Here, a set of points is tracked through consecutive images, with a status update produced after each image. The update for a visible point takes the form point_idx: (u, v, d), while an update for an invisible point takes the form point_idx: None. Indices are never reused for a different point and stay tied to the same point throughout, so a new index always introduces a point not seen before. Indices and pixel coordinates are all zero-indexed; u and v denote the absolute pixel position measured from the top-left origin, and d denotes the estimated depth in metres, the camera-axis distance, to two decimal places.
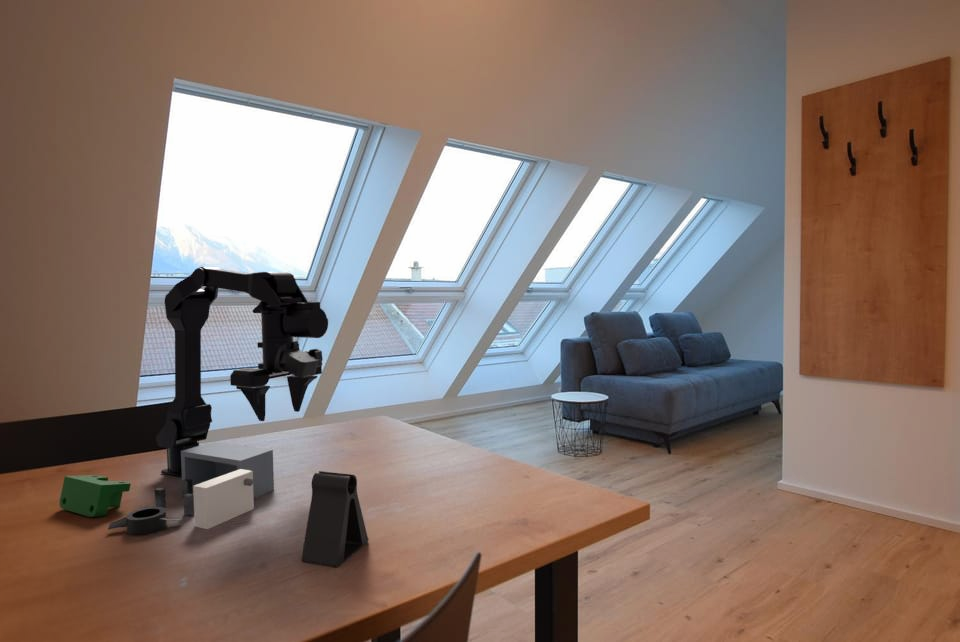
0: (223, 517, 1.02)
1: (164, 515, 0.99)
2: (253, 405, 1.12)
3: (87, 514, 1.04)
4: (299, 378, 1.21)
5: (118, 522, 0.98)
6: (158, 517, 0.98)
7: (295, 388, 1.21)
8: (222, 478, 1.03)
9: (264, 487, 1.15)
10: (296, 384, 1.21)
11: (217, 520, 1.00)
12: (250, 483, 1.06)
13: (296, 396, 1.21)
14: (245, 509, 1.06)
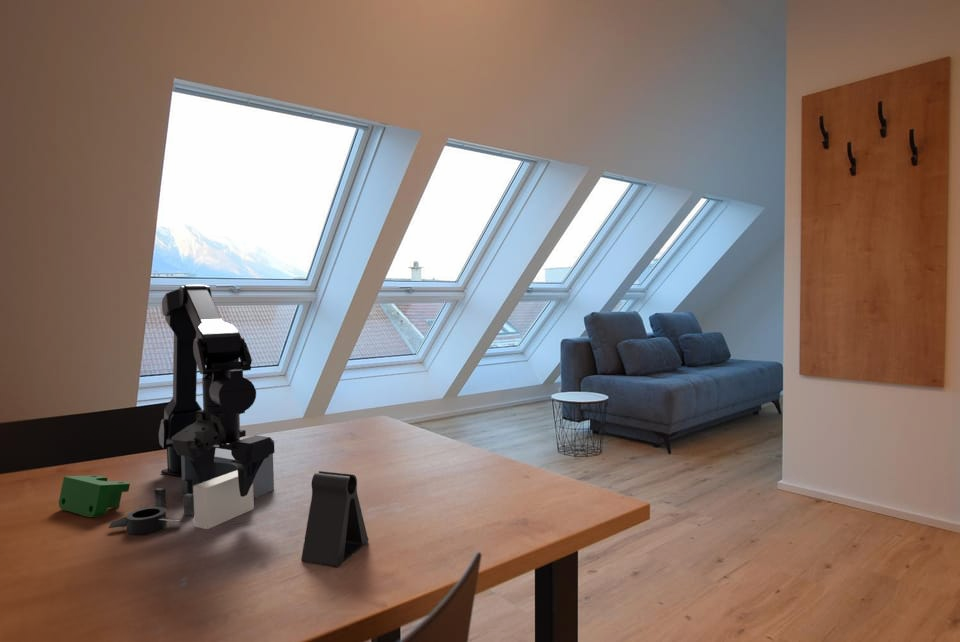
0: (223, 517, 1.02)
1: (163, 516, 0.99)
2: None
3: (86, 514, 1.04)
4: None
5: (119, 521, 0.98)
6: (157, 518, 0.97)
7: None
8: (222, 478, 1.03)
9: (264, 487, 1.15)
10: None
11: (217, 520, 1.00)
12: None
13: None
14: (245, 509, 1.06)
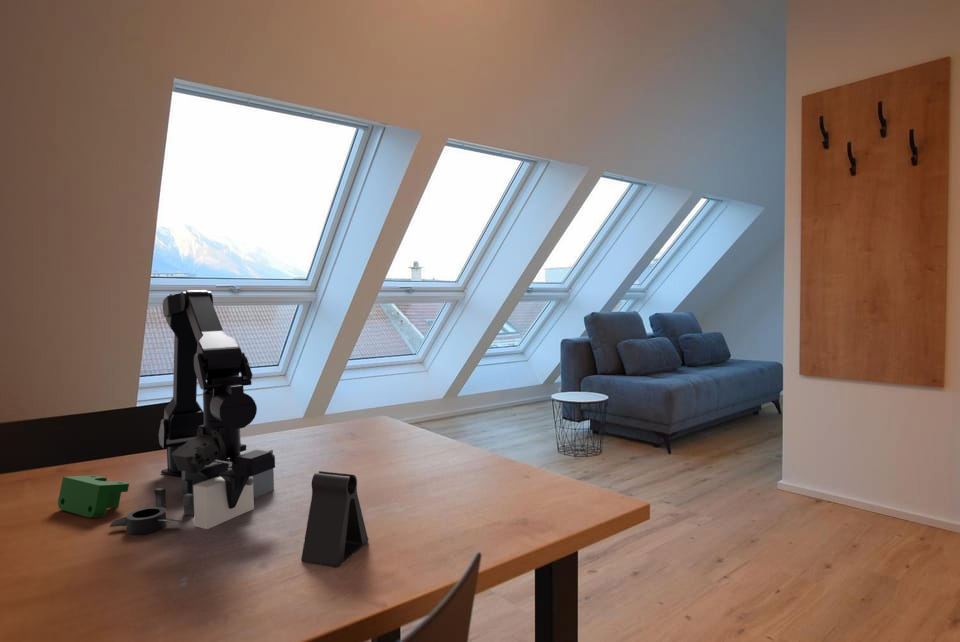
0: (223, 517, 1.02)
1: (162, 516, 0.99)
2: None
3: (85, 515, 1.04)
4: None
5: (120, 521, 0.99)
6: (155, 518, 0.97)
7: None
8: (222, 478, 1.03)
9: (264, 487, 1.15)
10: None
11: (217, 519, 1.00)
12: (250, 483, 1.06)
13: None
14: (245, 509, 1.06)
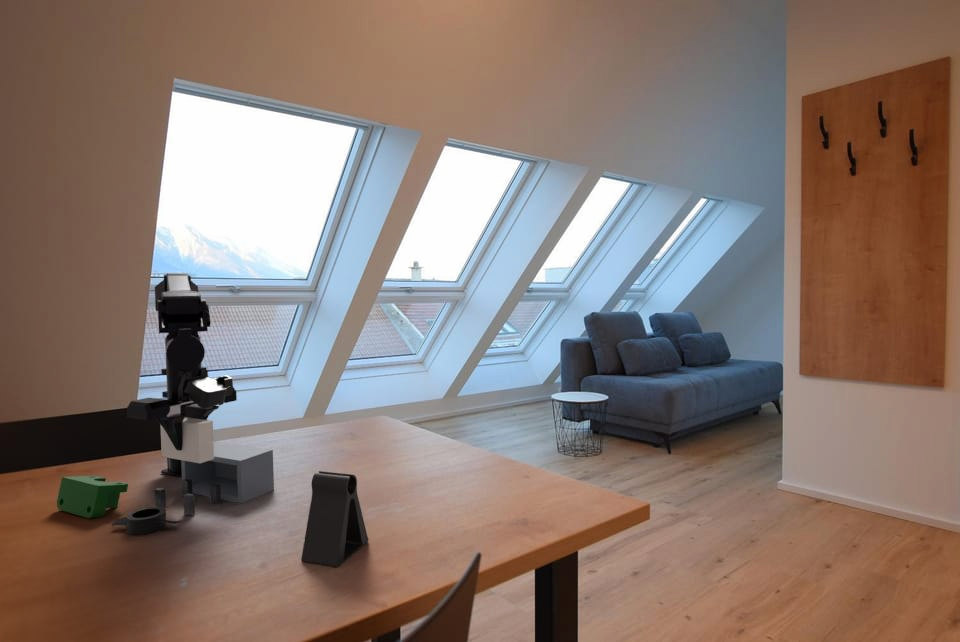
0: None
1: (161, 517, 0.98)
2: (169, 434, 1.06)
3: (84, 515, 1.03)
4: (197, 409, 1.10)
5: (122, 519, 0.99)
6: (152, 519, 0.97)
7: None
8: (187, 420, 1.08)
9: (264, 487, 1.15)
10: (194, 415, 1.10)
11: None
12: None
13: None
14: None
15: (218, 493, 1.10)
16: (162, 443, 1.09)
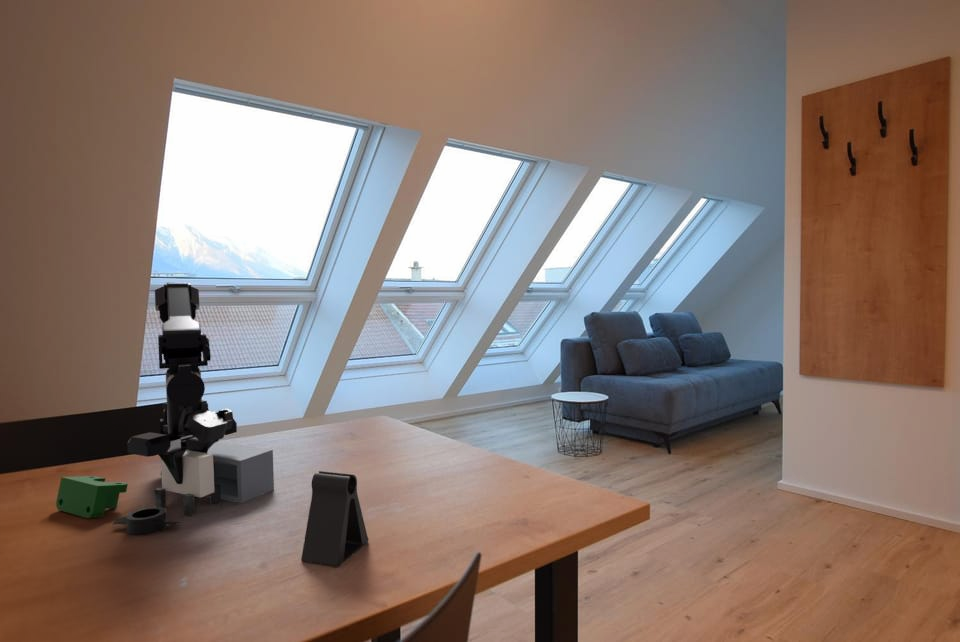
0: None
1: (160, 518, 0.98)
2: (169, 468, 1.07)
3: (84, 515, 1.03)
4: (198, 442, 1.10)
5: (123, 519, 1.00)
6: (151, 519, 0.97)
7: None
8: (187, 453, 1.08)
9: (264, 487, 1.15)
10: (195, 448, 1.11)
11: None
12: None
13: None
14: None
15: (218, 493, 1.10)
16: (163, 476, 1.10)
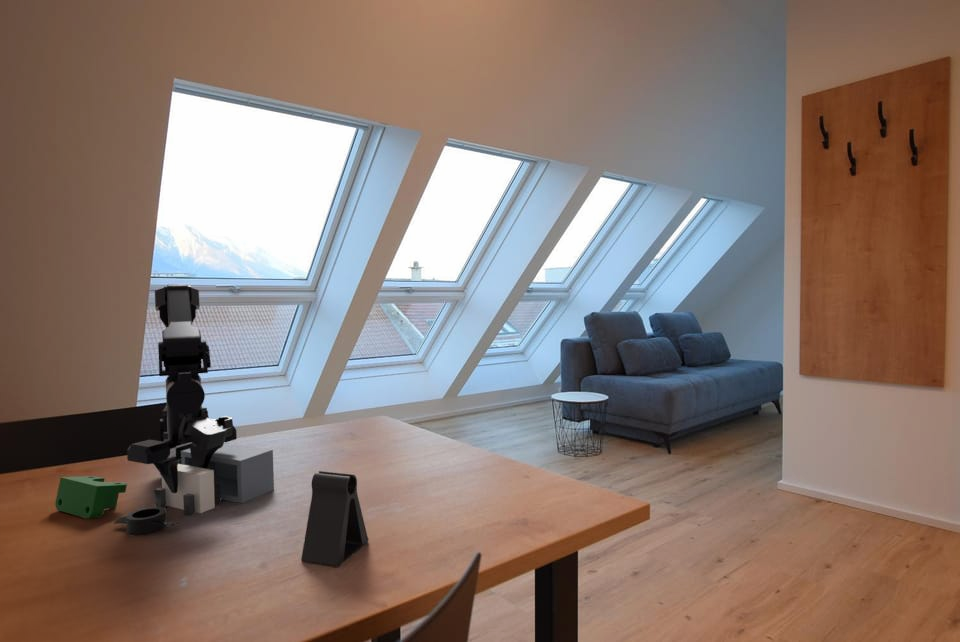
0: None
1: (159, 518, 0.98)
2: (164, 476, 1.06)
3: (83, 515, 1.03)
4: None
5: (125, 518, 1.00)
6: (150, 520, 0.97)
7: (197, 458, 1.11)
8: (188, 469, 1.09)
9: (264, 487, 1.15)
10: (199, 454, 1.11)
11: None
12: None
13: None
14: None
15: (218, 493, 1.10)
16: None
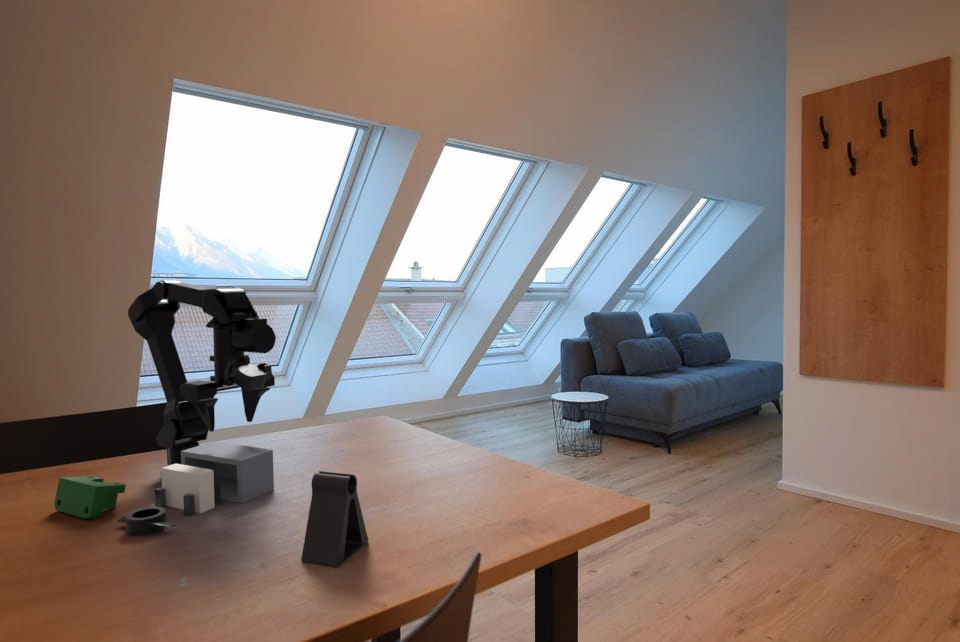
0: None
1: (157, 519, 0.98)
2: (202, 416, 1.17)
3: (82, 516, 1.03)
4: (252, 390, 1.26)
5: None
6: (147, 520, 0.96)
7: (248, 399, 1.26)
8: (188, 469, 1.09)
9: (264, 487, 1.15)
10: (249, 395, 1.26)
11: None
12: None
13: (248, 407, 1.26)
14: None
15: (218, 493, 1.10)
16: None
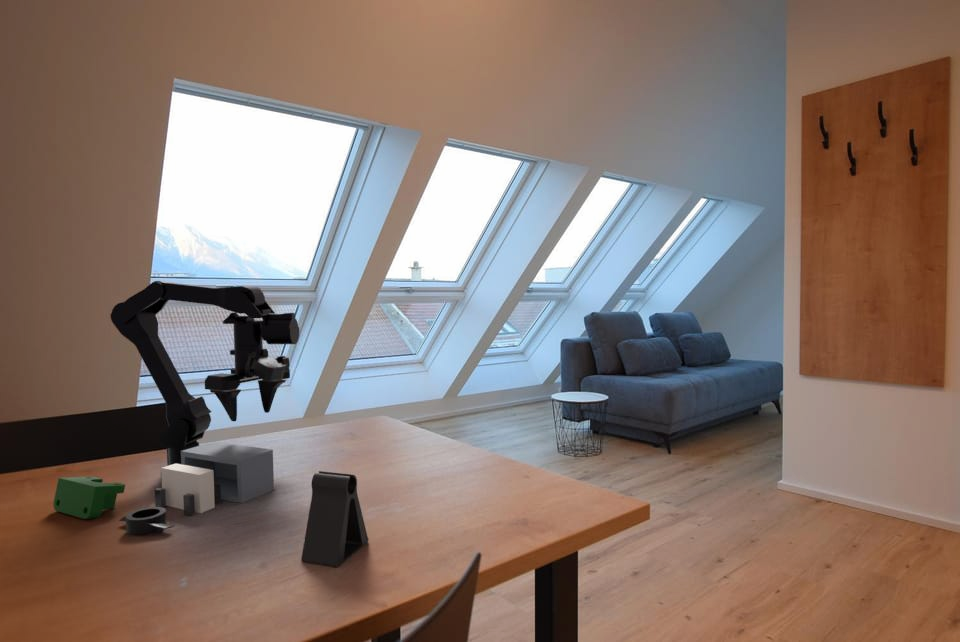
0: None
1: (155, 520, 0.97)
2: (225, 407, 1.24)
3: (81, 516, 1.03)
4: (269, 382, 1.33)
5: None
6: (145, 521, 0.96)
7: (265, 391, 1.33)
8: (188, 469, 1.09)
9: (264, 487, 1.15)
10: (266, 387, 1.33)
11: None
12: None
13: (266, 398, 1.33)
14: None
15: (218, 493, 1.10)
16: None
